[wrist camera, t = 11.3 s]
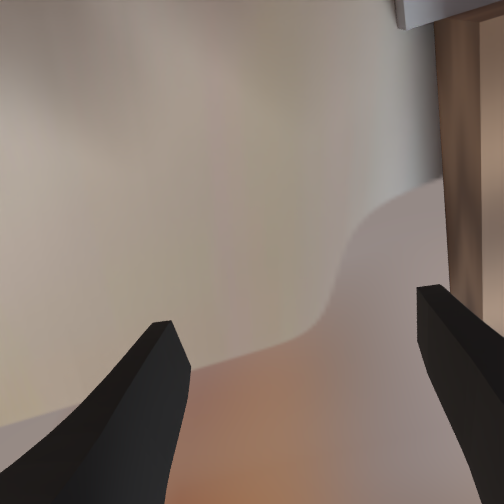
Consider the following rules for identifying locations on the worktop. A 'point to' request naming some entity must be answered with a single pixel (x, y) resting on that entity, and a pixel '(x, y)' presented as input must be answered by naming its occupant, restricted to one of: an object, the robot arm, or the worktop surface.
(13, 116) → the worktop surface
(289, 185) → the worktop surface
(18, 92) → the worktop surface
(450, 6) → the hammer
